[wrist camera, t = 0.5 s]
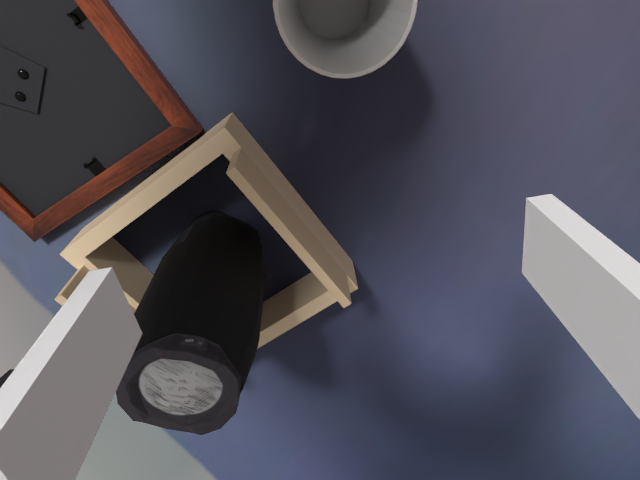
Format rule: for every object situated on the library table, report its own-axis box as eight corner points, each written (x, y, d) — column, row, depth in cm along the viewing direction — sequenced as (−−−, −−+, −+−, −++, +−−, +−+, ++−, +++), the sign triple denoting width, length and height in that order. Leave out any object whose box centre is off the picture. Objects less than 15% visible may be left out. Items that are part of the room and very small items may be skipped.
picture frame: (-217, -14, 34) (43, 233, 45) (-245, -15, 32) (33, 243, 43) (-35, -195, 30) (204, 126, 41) (-56, -207, 28) (200, 133, 39)
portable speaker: (275, 273, 48) (263, 433, 31) (187, 284, 48) (126, 449, 31) (260, 199, 44) (236, 336, 26) (164, 212, 44) (78, 356, 27)
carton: (83, 228, 44) (33, 283, 36) (232, 111, 39) (215, 144, 31) (214, 346, 52) (199, 413, 44) (352, 260, 47) (364, 318, 39)
